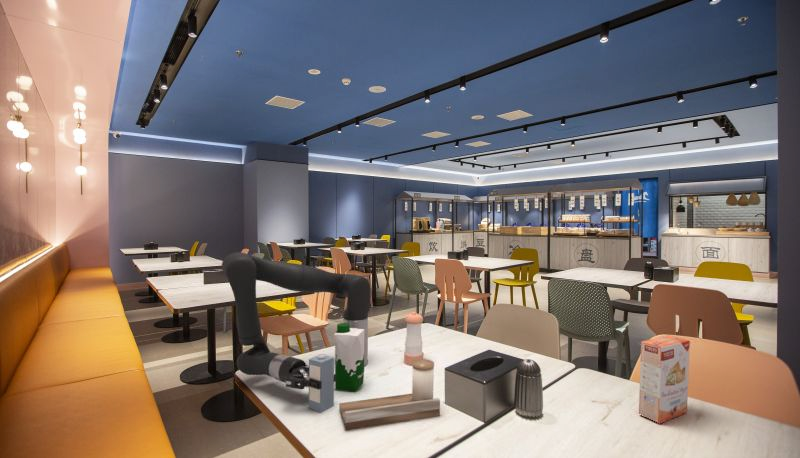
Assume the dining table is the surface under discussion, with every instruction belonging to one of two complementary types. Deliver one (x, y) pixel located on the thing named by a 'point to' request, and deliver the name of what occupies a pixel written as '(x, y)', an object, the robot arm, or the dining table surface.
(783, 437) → the dining table surface
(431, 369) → the jar
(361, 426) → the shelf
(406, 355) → the salt shaker
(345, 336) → the milk carton
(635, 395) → the dining table surface
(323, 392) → the tea tin
